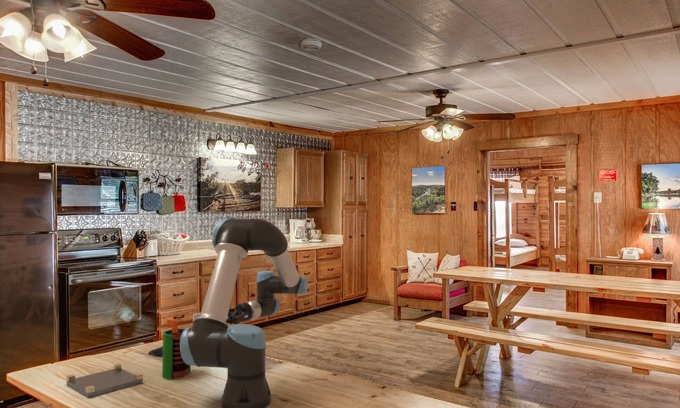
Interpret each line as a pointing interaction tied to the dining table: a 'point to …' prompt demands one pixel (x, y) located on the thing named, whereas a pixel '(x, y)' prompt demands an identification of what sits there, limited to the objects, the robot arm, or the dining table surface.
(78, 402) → the dining table surface
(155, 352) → the dark slate chunk
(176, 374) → the motor
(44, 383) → the dining table surface
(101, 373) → the plate
